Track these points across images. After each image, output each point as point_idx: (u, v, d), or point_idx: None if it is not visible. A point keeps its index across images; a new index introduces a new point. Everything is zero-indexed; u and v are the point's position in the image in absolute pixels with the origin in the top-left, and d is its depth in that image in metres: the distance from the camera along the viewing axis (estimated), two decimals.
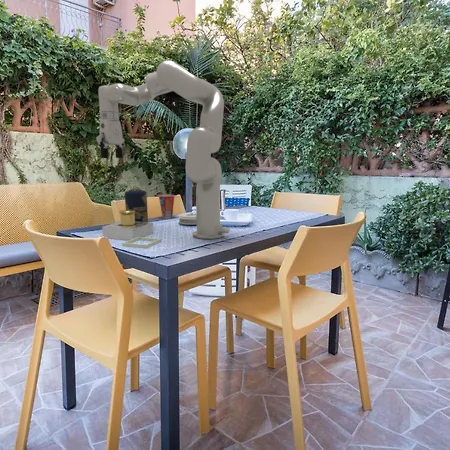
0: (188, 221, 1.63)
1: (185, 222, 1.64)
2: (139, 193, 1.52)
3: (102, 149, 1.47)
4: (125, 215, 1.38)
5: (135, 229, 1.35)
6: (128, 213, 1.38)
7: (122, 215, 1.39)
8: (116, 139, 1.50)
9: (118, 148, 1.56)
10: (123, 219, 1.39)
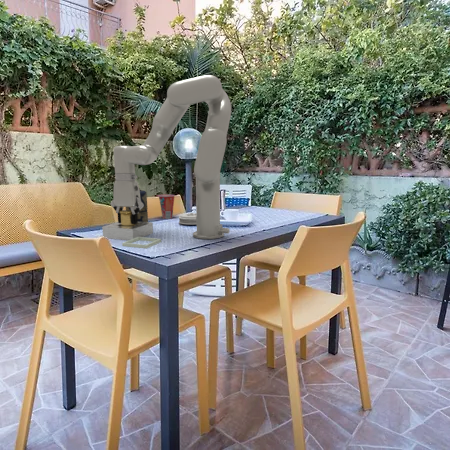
0: (188, 221, 1.63)
1: (185, 222, 1.64)
2: None
3: (136, 214, 1.39)
4: (125, 215, 1.38)
5: (135, 229, 1.35)
6: (128, 213, 1.38)
7: (122, 215, 1.39)
8: None
9: None
10: (123, 219, 1.39)
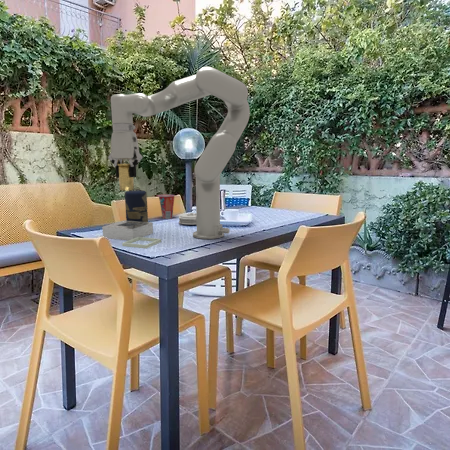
0: (188, 221, 1.63)
1: (185, 222, 1.64)
2: (139, 193, 1.52)
3: (134, 167, 1.35)
4: (123, 167, 1.34)
5: (135, 229, 1.35)
6: (126, 165, 1.34)
7: (120, 168, 1.34)
8: None
9: None
10: (121, 172, 1.34)
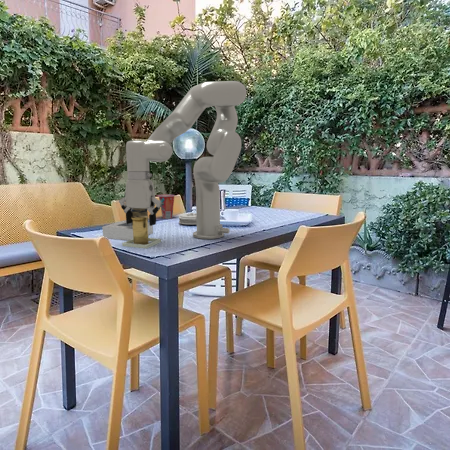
0: (188, 221, 1.63)
1: (185, 222, 1.64)
2: None
3: (154, 215, 1.25)
4: (137, 222, 1.25)
5: None
6: (141, 219, 1.25)
7: (134, 222, 1.25)
8: None
9: (130, 212, 1.28)
10: (135, 226, 1.25)
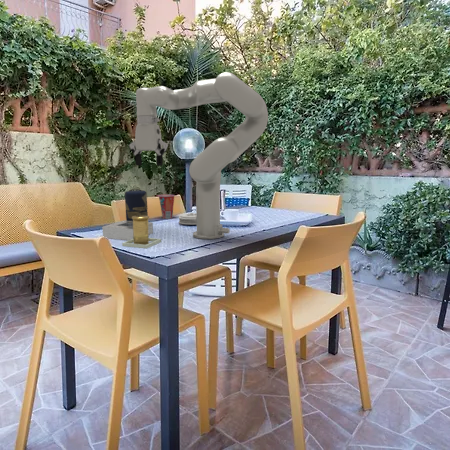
0: (188, 221, 1.63)
1: (185, 222, 1.64)
2: (139, 193, 1.52)
3: (161, 156, 1.40)
4: (138, 221, 1.25)
5: None
6: (142, 219, 1.25)
7: (135, 221, 1.25)
8: None
9: (139, 155, 1.43)
10: (136, 226, 1.25)
